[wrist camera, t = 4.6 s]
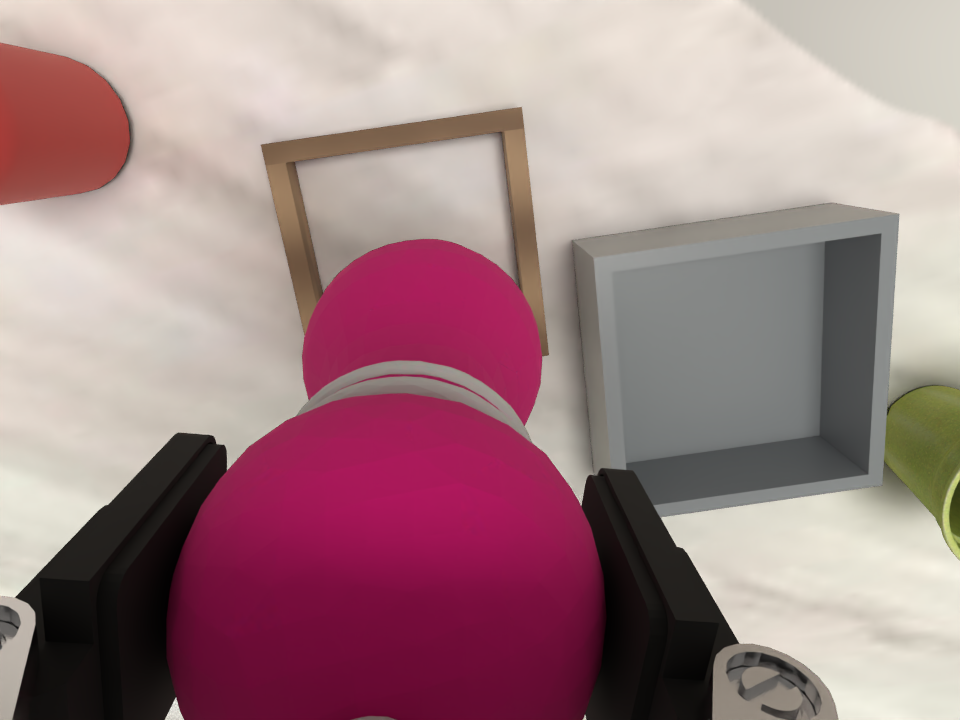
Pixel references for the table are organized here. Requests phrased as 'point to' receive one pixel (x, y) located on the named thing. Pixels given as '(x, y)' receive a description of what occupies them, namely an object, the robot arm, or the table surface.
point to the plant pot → (929, 453)
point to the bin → (740, 354)
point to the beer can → (56, 127)
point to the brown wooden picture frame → (504, 121)
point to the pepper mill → (396, 522)
